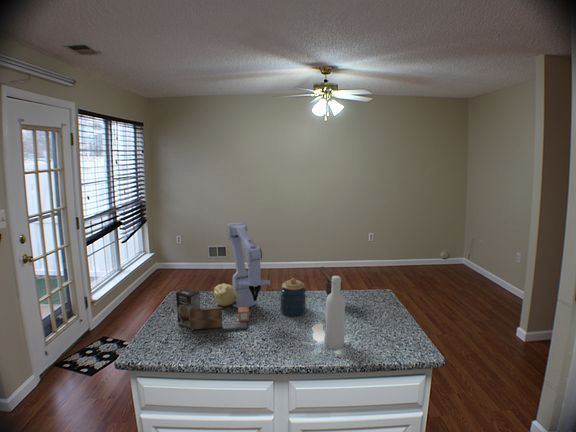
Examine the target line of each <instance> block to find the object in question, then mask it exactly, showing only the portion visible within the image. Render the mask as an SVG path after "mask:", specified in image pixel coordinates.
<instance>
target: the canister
mask: <svg viewBox="0 0 576 432" xmlns="http://www.w3.org/2000/svg"><path fill="white" fill-rule="evenodd" d="M279 291H280V292H281V293H280V306H279V307H280V313H281V314H283V315H284V316H286V317H293V318H294V317H300V316H303V315H304V314H305V313H306V310H307V309H306V308H307V306H306V303H307V302H306V301H307V300H306V299H307V298H306V297H307V294H306V291H307V288H306V287H305V283H304V282H302V281H301V280H299V279H296V278H294V277H292V278H290V279H288V280H286V281H284V282H283V283H282V284H281V287H280V289H279Z"/></svg>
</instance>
